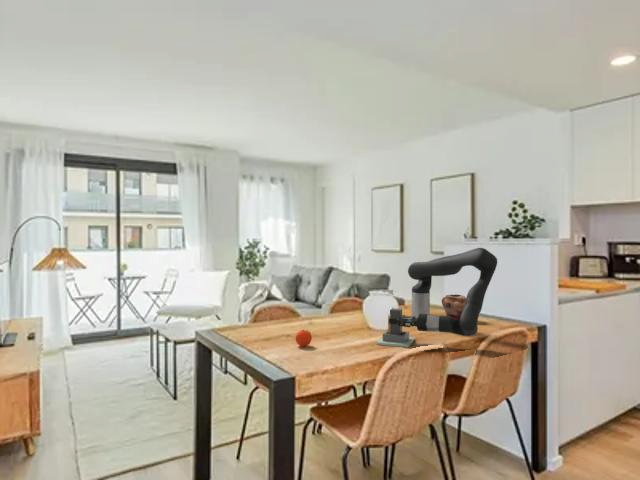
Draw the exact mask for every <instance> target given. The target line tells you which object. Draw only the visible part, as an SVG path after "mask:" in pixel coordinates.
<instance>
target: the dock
mask: <svg viewBox="0 0 640 480" xmlns="http://www.w3.org/2000/svg"><path fill="white" fill-rule="evenodd" d="M415 340H416V337H415V336H410V331H403V330H402V335H392V334H388V329H387V330H386V331H384V332H383V333H382V337H380V338H379V339H378V340H377V341H376V342H375V343H376V344H375V345H376V346H387V347H397V348H398V347H399V348H409V347H411V345H412V344H413V342H414V341H415Z"/></svg>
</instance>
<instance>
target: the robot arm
mask: <svg viewBox="0 0 640 480" xmlns="http://www.w3.org/2000/svg"><path fill="white" fill-rule="evenodd" d="M467 266H472V267H474V268H475V269H477V270H478V271H480V274H479V279H478V281H477V282H476V283H475V284H473V286H472V287H471V288H470V289H469V290H468V293H467V294H466V302H465V306H464V310H463V312H462V315H461V318H460V320H457V319H454V318H453V317H451V316H447V315H439V314H434V313H433V314H431V313H430V309H431V308H430V307H431V306H430V304H431V303H430V301H431V299H430V296H431V295H430V293H431V288H432V281H433V280H432V279H433V278H432V277H445V276H447V277H448V276H453V275H457V274H458V273H460V271H462V269H463V267H467ZM497 266H498V258H497V256H496V255H494V254H493V253H492V252H491V251H489V250H488V249H486V248H483V247H476V248H473V249H470V250H467V251H464V252H461V253H457V254H452V255H447V256H443V257H439V258H434V259H431V260H428V261H418V262H416V261H415V262H413V263H411V264H410V265H409V266H408V268H407V273H408V275H409V277H410V278H411V279H413V280H415V281H417V283H416V284H415V285H413V286H412V287H411V315H410V316H408V315H402V319H389V324H397V325H398V326H402V328H403V327H405V328H413V327H416V330H417V331H419V332H427V333H451V334H455V335H457V336H458V335H459V336H463V337H471V336H474V335H476V334H477V333H478V329H479V328H478V319H479V315H480V313H481V312H482V308H483V304H484V300H485V296H486V293H487V290H488V287H489V285H490V283H491V280H492V279H493V276H494V273H495V271H496V268H497ZM401 322H402V324H401Z"/></svg>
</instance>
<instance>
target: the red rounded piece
mask: <svg viewBox="0 0 640 480" xmlns="http://www.w3.org/2000/svg"><path fill="white" fill-rule="evenodd" d="M295 342H296V344H297V345H299V346H300V347H307V346H309V345H310V344H311V342H312V334H311V331H310V330H308V329H301V330H299V331H298V332H297V333H296V335H295Z"/></svg>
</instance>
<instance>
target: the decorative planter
mask: <svg viewBox="0 0 640 480" xmlns="http://www.w3.org/2000/svg"><path fill="white" fill-rule="evenodd" d="M466 298H467V296H465V295H462V294H446V295H445V296H443V297H442V298H441V305H442V308H443V310H444V312H445V316H451V317H453V318H454V319H457V320H460V318H461V315H462V312H463V310H464V306H465V302H466Z"/></svg>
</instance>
